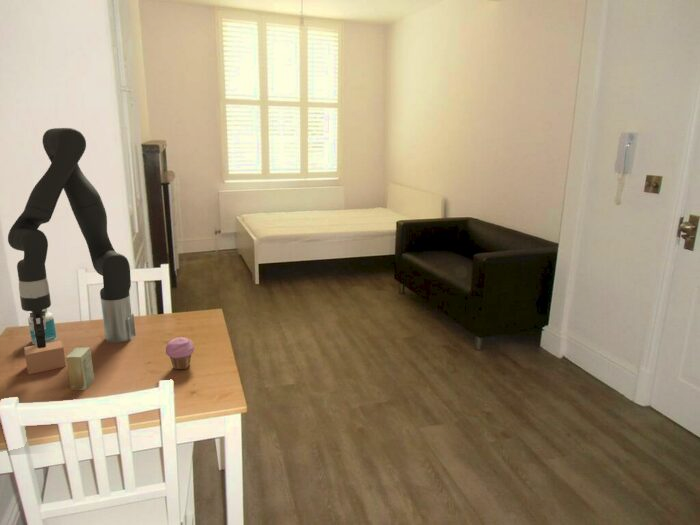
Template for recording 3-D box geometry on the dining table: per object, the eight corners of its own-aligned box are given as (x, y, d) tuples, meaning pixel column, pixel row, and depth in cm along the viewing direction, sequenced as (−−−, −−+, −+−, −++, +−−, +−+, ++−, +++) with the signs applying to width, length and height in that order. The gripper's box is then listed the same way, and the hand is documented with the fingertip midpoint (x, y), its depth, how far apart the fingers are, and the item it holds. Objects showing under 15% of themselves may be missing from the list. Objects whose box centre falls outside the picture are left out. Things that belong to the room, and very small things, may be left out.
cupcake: (193, 372, 151) (191, 344, 148) (164, 374, 150) (162, 345, 147) (197, 359, 159) (195, 332, 157) (170, 360, 158) (168, 333, 155)
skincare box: (80, 383, 143) (75, 346, 139) (95, 383, 143) (90, 346, 140) (70, 395, 137) (64, 356, 133) (86, 394, 137) (80, 356, 134)
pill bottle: (62, 340, 170) (56, 305, 167) (47, 349, 163) (41, 313, 160) (42, 338, 171) (37, 303, 167) (27, 347, 164) (21, 311, 160)
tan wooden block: (65, 362, 155) (61, 340, 153) (66, 370, 150) (63, 347, 148) (28, 370, 149) (24, 347, 147) (28, 378, 145) (24, 354, 142)
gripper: (19, 288, 146) (26, 336, 151) (19, 301, 135) (27, 353, 139) (48, 284, 150) (54, 331, 155) (50, 298, 139) (56, 348, 143)
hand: (41, 342), depth 147 cm, fingers open, 8 cm apart
